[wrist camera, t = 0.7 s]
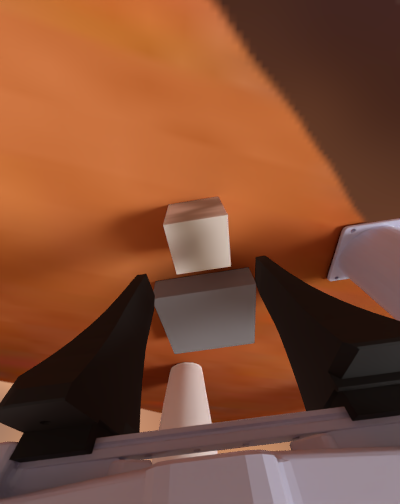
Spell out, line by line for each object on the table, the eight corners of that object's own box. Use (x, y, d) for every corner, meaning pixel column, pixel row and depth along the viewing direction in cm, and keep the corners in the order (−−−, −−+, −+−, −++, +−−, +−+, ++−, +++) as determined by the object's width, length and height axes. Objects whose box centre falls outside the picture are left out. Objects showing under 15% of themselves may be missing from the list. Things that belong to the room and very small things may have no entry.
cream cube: (218, 196, 18) (227, 214, 14) (222, 239, 21) (230, 266, 17) (168, 204, 18) (163, 224, 14) (179, 246, 21) (176, 274, 17)
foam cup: (158, 360, 34) (144, 468, 23) (208, 355, 34) (218, 460, 23) (167, 383, 39) (159, 480, 28) (210, 379, 39) (218, 473, 28)
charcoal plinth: (248, 267, 23) (256, 283, 20) (248, 325, 29) (254, 343, 27) (155, 281, 23) (151, 299, 21) (175, 335, 30) (174, 353, 27)
